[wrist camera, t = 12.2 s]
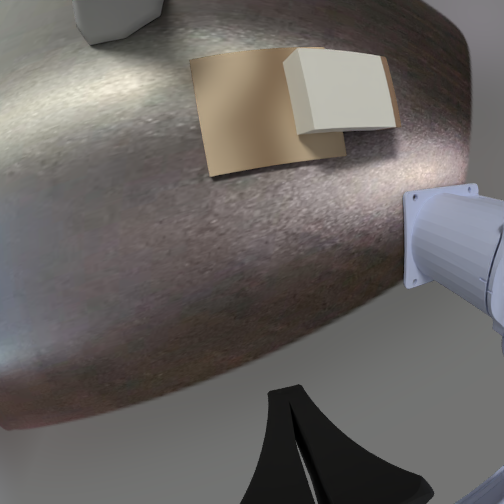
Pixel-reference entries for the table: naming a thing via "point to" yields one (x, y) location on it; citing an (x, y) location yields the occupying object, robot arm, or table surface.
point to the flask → (113, 17)
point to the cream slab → (340, 91)
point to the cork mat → (252, 113)
